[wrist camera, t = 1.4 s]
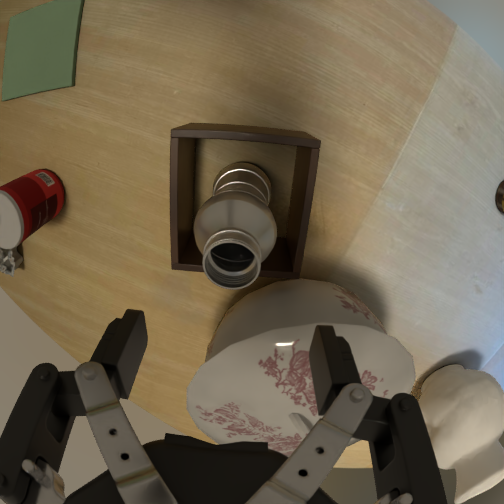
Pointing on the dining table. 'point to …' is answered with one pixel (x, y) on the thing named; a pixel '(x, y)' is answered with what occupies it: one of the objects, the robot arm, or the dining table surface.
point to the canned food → (28, 205)
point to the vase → (465, 426)
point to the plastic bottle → (236, 226)
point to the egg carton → (9, 260)
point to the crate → (182, 194)
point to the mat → (42, 49)
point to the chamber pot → (287, 363)
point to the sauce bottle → (500, 197)
